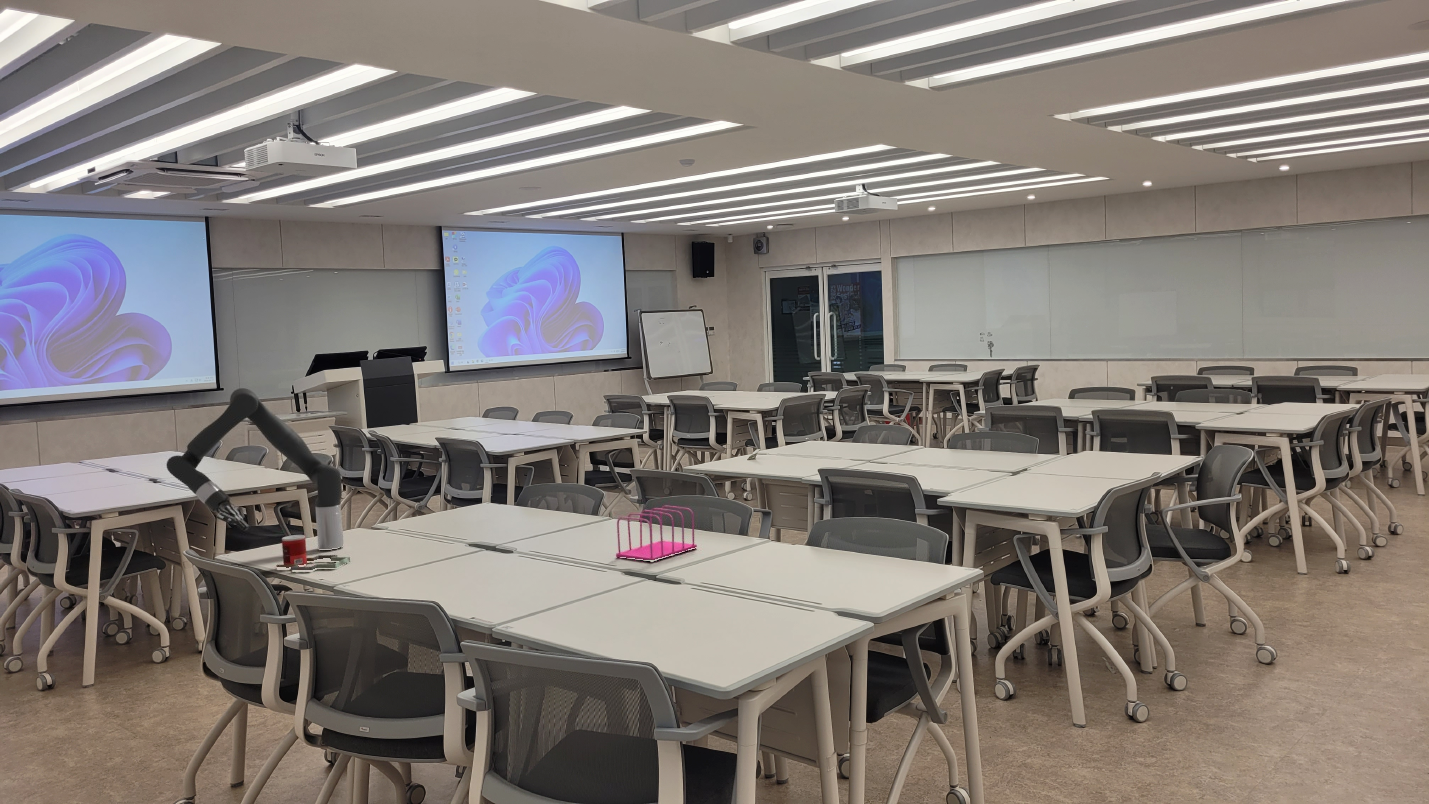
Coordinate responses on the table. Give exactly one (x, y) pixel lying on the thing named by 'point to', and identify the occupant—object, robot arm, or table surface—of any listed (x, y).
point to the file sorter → (660, 547)
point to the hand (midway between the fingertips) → (246, 528)
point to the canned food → (294, 550)
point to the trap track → (333, 558)
